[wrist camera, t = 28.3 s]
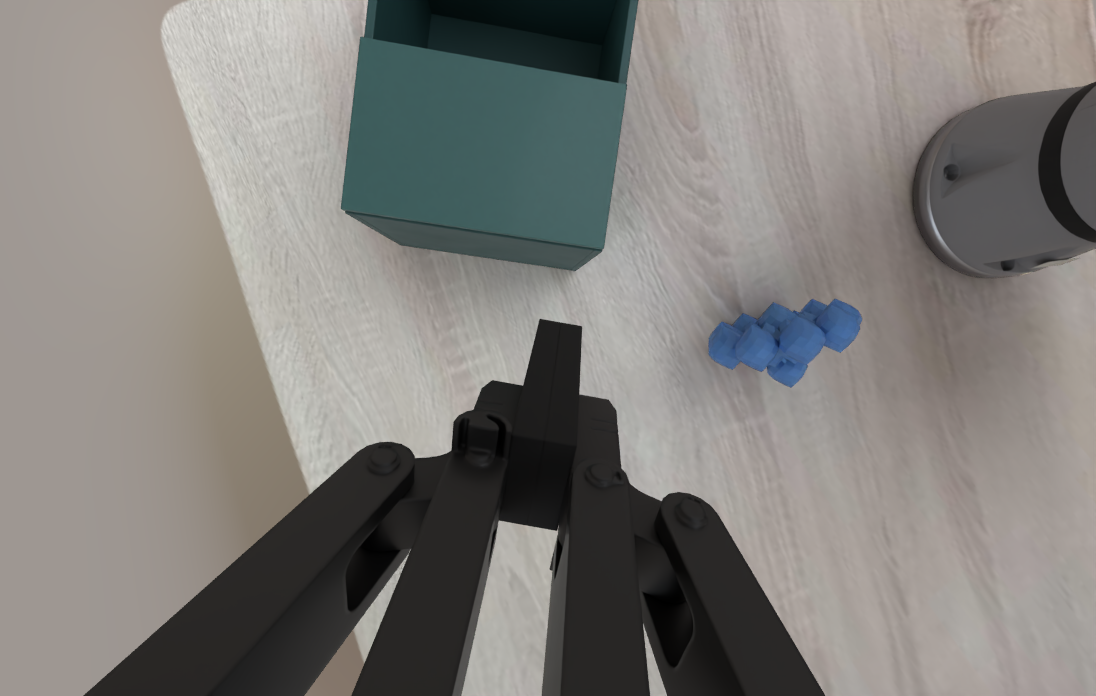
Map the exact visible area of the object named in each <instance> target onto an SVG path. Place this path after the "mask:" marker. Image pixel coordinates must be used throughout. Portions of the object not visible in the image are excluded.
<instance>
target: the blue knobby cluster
mask: <svg viewBox="0 0 1096 696" xmlns="http://www.w3.org/2000/svg"><path fill="white" fill-rule="evenodd" d="M861 322H862V317H861V314H860V313H859V311H858V310H857V309H855V308H854V307H852V306H851V305H849V304H847V303H844V302H842V301H840V300H837V299H834V300H833V301H832V302H831V303H830V304H829V305H828V306H827V305H825V304H823V303H821V302H818V301H816V300H813V299H812V300H811V301H810V302H809V303H808V304H807V305H806V306H805V307H804V308H803V309H802V310H801V312H800V313H799V312H797V311H793V312H792V311H790V310H789V309H788V308H785V307H783V306H781V305H778V304H776V303H774V302H773V303H772V304H771V305H770V306H769V307H768V309H767V310H766V311H765V312H764V313H763V314H762V316H761V317H760V318H759V319H758V320H757V319H755V318H753V317H751V316H749V315H746V314H744V313H743V314H742V315H741V316H740V317H739V318H738V319H737V320H736V322H735V323H734V324H733V326H731V325H729V324H727V323H724V322H721V323H720V324H719V325H718V326H717V327H716V328H715V330H714V331H713V332H712V334H711V335H710V337H709V356H710V357H711V358H712V359H713V360H714V361H715V362H717V363H719V364H721V365H723V366H725V367H727V368H729V369H732V370H733V369H734V368H735V367H736V366H737V365H738V363H739V362H740V361H741V362H743V363H744V364H746V365H748V366H749V367H751V368H753V369H756V370H758V371H761V372H762V371H763V370H764V369H765V368H766V367H767V373H768V374H769V375H770V376H771V377H772V378H773V379H775V380H776V381H778V382H780V383H782V384H784V385H786V386H789V387H792V386H794V385H795V384H796V383H797V382H798V381H799V380H800V379H801V378H802V377H803V375H804V373H805V371H806V369H807V367H808V365H807V364H808V363H809V362H810V361H812V360H813V359H814V358H815V357H816V356H817V355H818V354H819V353H820V351H821V349H822V347H823V345H824V346H826V347H828V348H830V349H833V350H835V351H837V352H840V353H841V352H842V351H843V350H844V349H845V348H846V347H848V346H849V345H850V344H851V343H852V342H853V341H854V339H855V338H856V336H857V334H858V332H859V330H860V324H861Z"/></svg>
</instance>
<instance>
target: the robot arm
mask: <svg viewBox="0 0 1096 696" xmlns="http://www.w3.org/2000/svg"><path fill="white" fill-rule="evenodd" d="M913 201H914V211H915V216H916V220H917V224H918V227H919V229H920V232H921V234H922V236H923V238H924V240H925V241H926V243H927V245H928V246H929V247H930V249H931V250H932V251H933V253H934V254H935V255H936V256H937V257H938V258H939V259H940V260H941V261H943V262H944V263H945V264H947V265H948V266H949V267H951V268H953V269H955V270H957V271H959V272H961V273H963V274H966V275H970V276H974V277H981V278H997V277H1010V276H1019V275H1024V274H1028V273H1031V272H1034V271H1037V270H1041V269H1043V268H1046V267H1048V266H1055V265H1062V264H1065V263H1068V262H1070V261H1073V260H1076V259H1079V258H1074V259H1069V258H1072V257H1075V256H1077V255H1080V254H1083V253H1085V252H1088V251H1090V250H1093V249H1096V82H1094V83H1091V84H1089V85H1086V86H1082V87H1075V88H1067V89H1059V90H1051V91H1044V92H1036V93H1028V94H1021V95H1013V96H1008V97H1003V98H998V99H995V100H991V101H988V102H986V103H984V104H981V105H979V106H977V107H975V108H973V109H970V110H968V111H966V112H964V113H962V114H960V115H958V116H957V117H955V118H954V119H952V120H951V121H949V122H948V123H947V124H946V125H945V126H943V127H942V128H941V129H940V130H939V132H938V133H937V134H936V135H935V136H934V137H933V139H932V140H931V142H930V143H929V145H928V146H927V148H926V150H925V151H924V153H923V155H922V158H921V160H920V162H919V165H918V168H917V172H916V176H915V182H914V191H913ZM581 339H582V326H577V325H571V324H566V323H560V322H554V321H549V320H543V319H540V320H539V324H538V328H537V332H536V337H535V341H534V345H533V349H532V353H531V357H530V361H529V365H528V369H527V373H526V377H525V381H524V385H523V386H522V385H516V384H510V383H505V382H499V381H493V380H492V381H491V382H489V383H488V384H487V385H486V386H484V387H483V388H482V389H481V392H480V394H479V397H478V400H477V402H476V404H475V407H474V410H472V411H467V412H465V413H463V414H461V415H459V416H458V417H457V418H456V420H455V421H454V425H453V438H452V450H451V451H450V452H449V453H447V454H444V455H441V456H437V457H429V458H415V456H414V454H413V453H412V451H411V450H410V449H409V448H407V447H406V446H404V445H402V444H398V443H393V442H379V443H375V444H372V445H369V446H366V447H365V448H363V449H362V450H360V451H359V452H357V453H356V454H355V455H354V456H353V457H352V458H351V459H349V460H348V461H347V462H346V463H345V464H344V465H343V466H342V467H340V468H339V469H338V470H337V471H336V472H335V473H334V474H332V475H331V476H330V477H329V478H328V479H327V480H326V481H325V482H323V483H322V484H321V485H320V486H319V487H318V488H317V489H316V490H314V491H313V492H312V493H311V494H310V495H309V496H308V497H307V498H306V499H304V500H303V501H302V502H301V503H300V504H299V505H298V506H296V507H295V508H294V509H293V510H292V511H291V512H290V513H289V514H288V515H286V516H285V517H284V518H283V519H282V520H281V521H280V522H278V523H277V524H276V525H275V526H274V527H273V528H272V529H271V530H270V531H268V532H267V533H266V534H265V535H264V536H263V537H262V538H260V539H259V540H258V541H257V542H256V543H255V544H254V545H253V546H251V548H249V549H248V550H247V551H246V552H245V553H244V554H242V555H241V556H240V557H239V558H238V559H237V560H236V561H235V562H233V563H232V564H231V565H230V566H229V567H228V568H227V569H226V570H224V571H223V572H222V573H221V574H220V575H219V576H218V577H217V578H215V580H213V581H212V582H211V583H210V584H209V585H208V586H207V587H205V588H204V589H203V590H202V591H201V592H200V593H199V594H198V595H196V596H195V597H194V598H193V599H192V600H191V601H190V602H188V603H187V604H186V605H185V606H184V607H183V608H182V609H181V610H179V611H178V612H177V613H176V614H175V615H174V616H173V617H171V618H170V619H169V620H168V621H167V622H166V623H165V624H164V625H162V626H161V627H160V628H159V629H158V630H157V631H156V632H155V633H153V634H152V635H151V636H150V637H149V638H148V639H147V640H146V641H145V642H143V643H142V644H141V645H140V646H139V647H138V648H137V649H135V651H133V652H132V653H131V654H130V655H129V656H128V657H127V658H125V659H124V660H123V661H122V662H121V663H120V664H119V665H117V666H116V667H115V668H114V669H113V670H112V671H111V672H110V673H108V674H107V675H106V676H105V677H104V678H103V679H102V680H101V681H99V682H98V683H97V684H96V685H95V686H94V687H93V688H92V689H90V690H89V691H88V692H87V693H86V694H85V695H84V696H304V695H305V694H306V693H307V691H308V690H309V689H310V687H311V686H312V684H313V683H314V682H315V680H316V679H317V678H318V676H319V675H320V674H321V672H322V671H323V669H324V668H325V667H326V665H327V664H328V663H329V661H330V660H331V659H332V657H333V656H334V654H335V653H336V652H337V650H338V649H339V648H340V646H341V645H342V644H343V642H344V641H345V639H346V638H347V637H348V635H349V634H350V633H351V631H352V630H353V629H354V627H355V626H356V624H357V623H358V622H359V620H360V619H361V618H362V616H363V615H364V614H365V612H366V611H367V609H368V608H369V607H370V605H371V604H372V603H373V601H374V600H375V598H376V597H377V596H378V594H379V593H380V592H381V590H382V589H383V588H384V586H385V585H386V583H387V582H388V581H389V579H390V578H391V577H392V575H393V574H394V573H395V571H396V570H397V568H398V567H399V566H400V564H401V563H402V562H403V560H404V559H405V558H406V556H407V555H408V553H409V551H410V549H411V551H410V553H409V556H408V558H407V561H406V563H405V566H404V568H403V571H402V573H401V575H400V578H399V580H398V583H397V585H396V588H395V590H394V593H393V595H392V597H391V600H390V602H389V605H388V607H387V610H386V612H385V615H384V617H383V620H382V622H381V624H380V627H379V629H378V632H377V634H376V637H375V639H374V642H373V644H372V647H371V649H370V651H369V654H368V656H367V659H366V661H365V664H364V666H363V669H362V671H361V674H360V676H359V678H358V681H357V683H356V686H355V688H354V691H353V693H352V696H461V694H462V690H463V685H464V681H465V676H466V672H467V667H468V663H469V658H470V654H471V649H472V644H473V640H474V635H475V631H476V626H477V622H478V617H479V613H480V608H481V604H482V599H483V594H484V590H485V585H486V581H487V576H488V572H489V567H490V563H491V558H492V553H493V549H494V544H495V540H496V534H497V527H498V522H499V520H500V521H505V522H511V523H516V524H522V525H528V526H533V527H539V528H544V529H550V530H556V531H557V529H558V536H557V540H556V544H555V549H554V553H553V557H552V561H551V566H550V570H553V571H552V583H551V594H550V606H549V617H548V629H547V640H546V652H545V663H544V675H543V686H542V696H650V691H649V681H648V670H647V660H646V650H645V640H644V630H643V624H644V627H645V630H646V633H647V636H648V639H649V642H650V645H651V648H652V651H653V654H654V657H655V660H656V663H657V666H658V669H659V672H660V675H661V678H662V681H663V684H664V687H665V690H666V693H667V696H825V694H824V693H823V691H822V689H821V688H820V686H819V684H818V683H817V681H816V679H815V677H814V676H813V674H812V672H811V671H810V669H809V667H808V666H807V664H806V662H805V661H804V659H803V657H802V656H801V654H800V652H799V650H798V649H797V647H796V645H795V644H794V642H793V640H792V639H791V637H790V635H789V634H788V632H787V630H786V629H785V627H784V625H783V623H782V622H781V620H780V618H779V617H778V615H777V613H776V612H775V610H774V608H773V607H772V605H771V603H770V602H769V600H768V598H767V596H766V595H765V593H764V591H763V590H762V588H761V586H760V585H759V583H758V581H757V580H756V578H755V576H754V574H753V573H752V571H751V569H750V568H749V566H748V564H747V563H746V561H745V559H744V558H743V556H742V554H741V553H740V551H739V549H738V547H737V546H736V544H735V542H734V541H733V539H732V537H731V536H730V534H729V532H728V531H727V529H726V527H725V526H724V524H723V522H722V520H721V519H720V517H719V515H718V514H717V513H716V511H715V510H714V509H713V508H712V507H711V506H710V505H709V504H708V503H706V502H705V501H704V500H702V499H701V498H698V497H696V496H694V495H691V494H688V493H681V492H677V493H671V494H668V495H667V496H666V497H664V498H663V500H662V501H660V500H657V499H655V498H653V497H650V496H648V495H646V494H644V493H642V492H640V491H638V490H637V489H636V488H634V487H633V486H632V485H631V484H630V483H629V480H628V478H627V475H626V473H625V472H624V471H623V470H622V469H621V461H620V449H619V437H618V425H617V413H616V410H615V408H614V407H613V405H612V404H611V403H610V401H609V400H607V399H601V398H596V397H590V396H584V395H579V386H580V362H581ZM558 525H559V528H558Z"/></svg>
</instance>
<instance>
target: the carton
mask: <svg viewBox="0 0 1096 696" xmlns="http://www.w3.org/2000/svg"><path fill="white" fill-rule="evenodd" d="M637 6H638V0H368V8H367V17H366V26H365V35H364V37H365V38H371V39H376V40H382V41H387V42H393V43H398V44H404V45H410V46H415V47H421V48H426V49H432V50H437V51H443V52H449V53H454V54H460V55H465V56H471V57H476V58H482V59H488V60H493V61H499V62H504V63H510V64H515V65H521V66H527V67H532V68H538V69H543V70H549V71H554V72H560V73H566V74H571V75H577V76H582V77H588V78H594V79H599V80H605V81H610V82H616V83H621V84H626V82H627V75H628V68H629V61H630V54H631V47H632V40H633V34H634V27H635V20H636V13H637ZM345 213H346V214H348V215H350V216H351V217H353V218H355V219H356V220H358V221H360V222H362V223H363V224H365V225H367V226H368V227H370V228H372V229H374V230H375V231H377V232H379V233H380V234H382V235H384V236H386V237H387V238H389V239H391V240H392V241H394V242H396V243H398V244H399V245H403V246H410V247H416V248H423V249H430V250H437V251H444V252H450V253H457V254H464V255H471V256H478V257H484V258H491V259H498V260H505V261H511V262H518V263H525V264H532V265H539V266H545V267H552V268H559V269H566V270H572V271H576V270H577V269H579V268H580V267H582V266H583V265H584V264H586V263H587V262H588V261H590V260H591V259H593V258H594V257H595V256H597V255H598V254H599V253H601V252H602V250H601V249H595V248H588V247H582V246H575V245H569V244H562V243H555V242H549V241H542V240H536V239H529V238H522V237H516V236H509V235H503V234H496V233H489V232H483V231H476V230H470V229H463V228H456V227H450V226H443V225H437V224H430V223H423V222H417V221H410V220H404V219H397V218H390V217H384V216H377V215H371V214H364V213H357V212H351V211H345Z"/></svg>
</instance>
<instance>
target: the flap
mask: <svg viewBox="0 0 1096 696" xmlns="http://www.w3.org/2000/svg"><path fill="white" fill-rule="evenodd" d="M626 89H627V84H621V83H616V82H610V81H605V80H599V79H594V78H588V77H582V76H577V75H571V74H566V73H560V72H554V71H549V70H543V69H538V68H532V67H527V66H521V65H515V64H510V63H504V62H499V61H493V60H488V59H482V58H476V57H471V56H465V55H460V54H454V53H449V52H443V51H437V50H432V49H426V48H421V47H415V46H410V45H404V44H398V43H393V42H387V41H382V40H376V39H371V38H365V37H360V45H359V54H358V63H357V71H356V80H355V89H354V98H353V106H352V115H351V124H350V133H349V141H348V150H347V159H346V168H345V176H344V185H343V194H342V203H341V209H342V210H344V211H351V212H357V213H364V214H371V215H377V216H384V217H390V218H397V219H404V220H410V221H417V222H423V223H430V224H437V225H443V226H450V227H456V228H463V229H470V230H476V231H483V232H489V233H496V234H503V235H509V236H516V237H522V238H529V239H536V240H542V241H549V242H555V243H562V244H569V245H575V246H582V247H588V248H595V249H601V250H602V249H604V243H605V236H606V229H607V222H608V215H609V208H610V201H611V194H612V187H613V180H614V173H615V166H616V159H617V152H618V145H619V138H620V131H621V124H622V117H623V110H624V103H625V96H626Z"/></svg>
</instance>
